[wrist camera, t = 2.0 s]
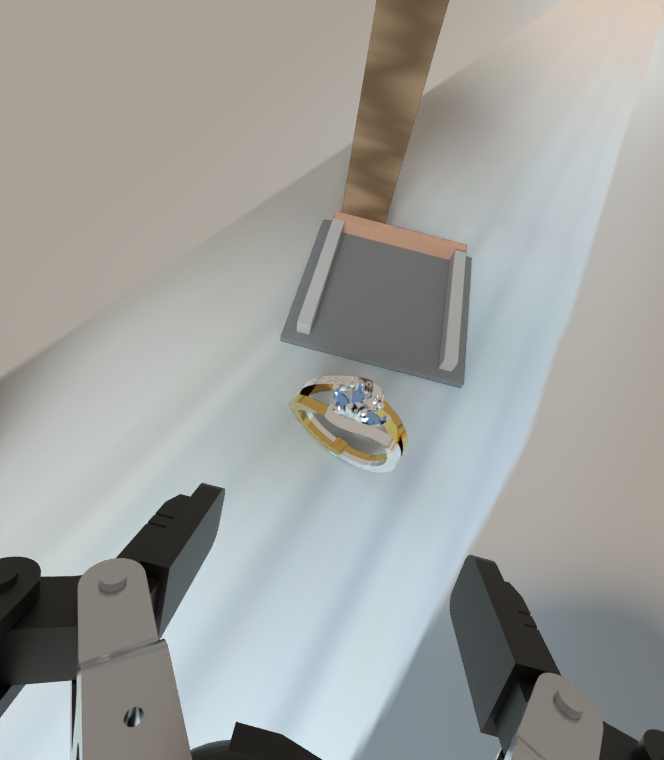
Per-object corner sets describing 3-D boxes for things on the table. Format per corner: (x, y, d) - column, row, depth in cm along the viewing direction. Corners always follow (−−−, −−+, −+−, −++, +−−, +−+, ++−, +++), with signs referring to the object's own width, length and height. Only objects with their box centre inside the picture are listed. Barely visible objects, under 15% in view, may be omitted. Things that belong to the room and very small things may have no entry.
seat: (280, 340, 29) (280, 326, 27) (322, 224, 36) (324, 208, 34) (460, 387, 29) (470, 376, 27) (468, 262, 36) (477, 247, 34)
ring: (393, 462, 26) (436, 414, 19) (367, 502, 24) (404, 466, 17) (309, 403, 27) (319, 337, 20) (280, 437, 25) (280, 380, 18)
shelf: (315, 299, 31) (424, -577, 8) (349, 195, 38) (462, -437, 15) (481, 342, 31) (1096, -409, 8) (485, 230, 38) (818, -348, 15)
